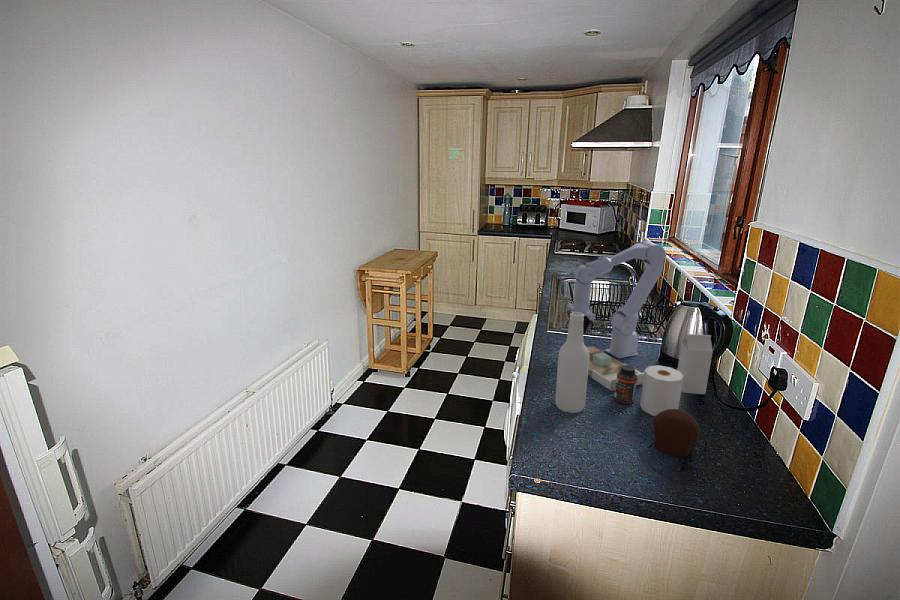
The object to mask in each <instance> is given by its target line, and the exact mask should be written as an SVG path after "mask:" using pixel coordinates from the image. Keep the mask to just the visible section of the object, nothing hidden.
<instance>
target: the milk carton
mask: <svg viewBox="0 0 900 600" xmlns="http://www.w3.org/2000/svg"><path fill="white" fill-rule="evenodd" d="M711 337H712V334H692V333H686V335H685V338H683V340H682V341H681V344H680V351H679V357H678V358H679V359H678V363H677V368H676V370H677V371H680V372H681V374H682V375H683V376H684V377H683V383H682V389H681V394H682V393H685V394H694V395H706V392H707V387H708V380H709V374H710V370H711V369H710V368H711V363H712V356H713V346H712V340H711V339H712V338H711Z"/></svg>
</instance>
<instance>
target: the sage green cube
mask: <svg viewBox="0 0 900 600" xmlns="http://www.w3.org/2000/svg"><path fill="white" fill-rule="evenodd" d="M605 353H606V352H604V353H598V354H593V360H592V362H593V363H595V364H596V365H598V366H599V367H604V366H609V365H611V360H612V358H613V357H612V356H611V355H609V354H607V353H606V354H605ZM610 356H611V357H610Z"/></svg>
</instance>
